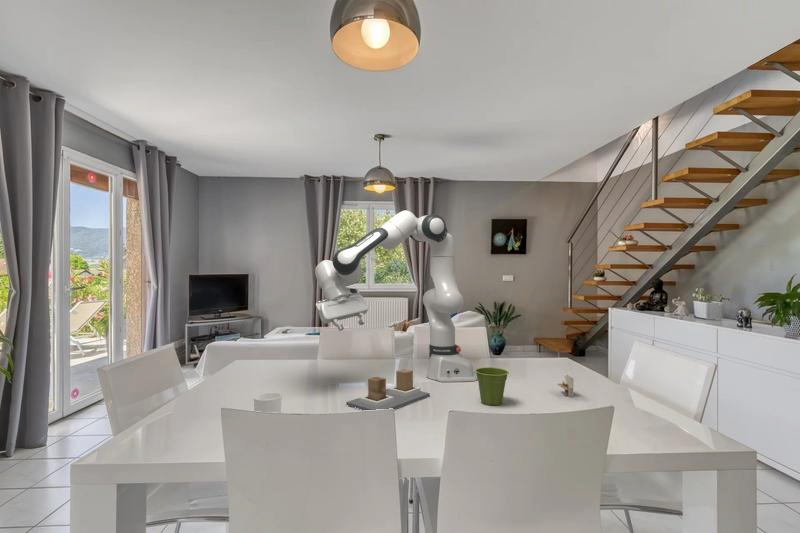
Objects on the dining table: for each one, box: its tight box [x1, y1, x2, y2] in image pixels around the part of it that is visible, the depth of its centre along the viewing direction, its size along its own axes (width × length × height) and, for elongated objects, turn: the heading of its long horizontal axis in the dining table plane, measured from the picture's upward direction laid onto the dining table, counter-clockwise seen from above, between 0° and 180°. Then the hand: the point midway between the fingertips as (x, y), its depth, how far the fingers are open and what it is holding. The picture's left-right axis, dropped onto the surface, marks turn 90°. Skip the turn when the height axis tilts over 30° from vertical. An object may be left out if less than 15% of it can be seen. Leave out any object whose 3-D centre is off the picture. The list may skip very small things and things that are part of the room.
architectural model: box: [556, 374, 574, 398], centre depth 157 cm, size 3×7×7 cm, turn 1°
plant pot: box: [474, 366, 510, 406], centre depth 148 cm, size 12×12×11 cm
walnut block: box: [367, 376, 387, 401], centre depth 146 cm, size 4×4×8 cm
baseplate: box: [345, 368, 431, 411], centre depth 151 cm, size 27×16×9 cm, turn 139°
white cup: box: [253, 391, 283, 414], centre depth 123 cm, size 8×8×10 cm
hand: (352, 327), depth 159 cm, fingers open, 8 cm apart
